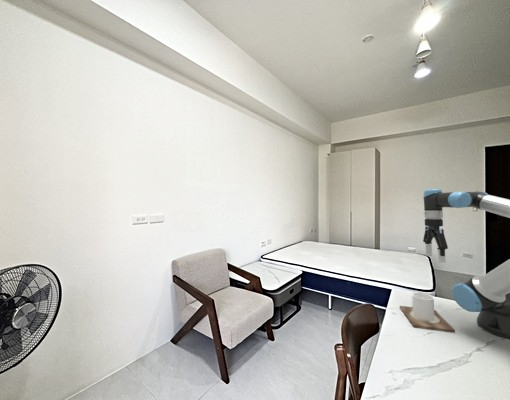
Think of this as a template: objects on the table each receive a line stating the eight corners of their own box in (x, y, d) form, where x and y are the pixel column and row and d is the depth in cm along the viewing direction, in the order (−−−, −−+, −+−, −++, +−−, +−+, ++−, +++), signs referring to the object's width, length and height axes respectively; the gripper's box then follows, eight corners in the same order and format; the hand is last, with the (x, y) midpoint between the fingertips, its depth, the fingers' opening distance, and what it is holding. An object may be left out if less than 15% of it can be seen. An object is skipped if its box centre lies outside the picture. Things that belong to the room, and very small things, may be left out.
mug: (437, 315, 112) (437, 293, 112) (432, 323, 104) (431, 301, 104) (417, 309, 118) (416, 289, 118) (410, 317, 110) (410, 295, 111)
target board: (434, 311, 118) (434, 309, 118) (455, 332, 99) (455, 329, 99) (399, 307, 123) (399, 305, 123) (413, 327, 104) (413, 324, 104)
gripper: (415, 217, 129) (416, 253, 129) (436, 220, 106) (438, 264, 105) (430, 216, 127) (431, 253, 127) (456, 220, 103) (457, 265, 103)
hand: (435, 258), depth 116 cm, fingers open, 13 cm apart
